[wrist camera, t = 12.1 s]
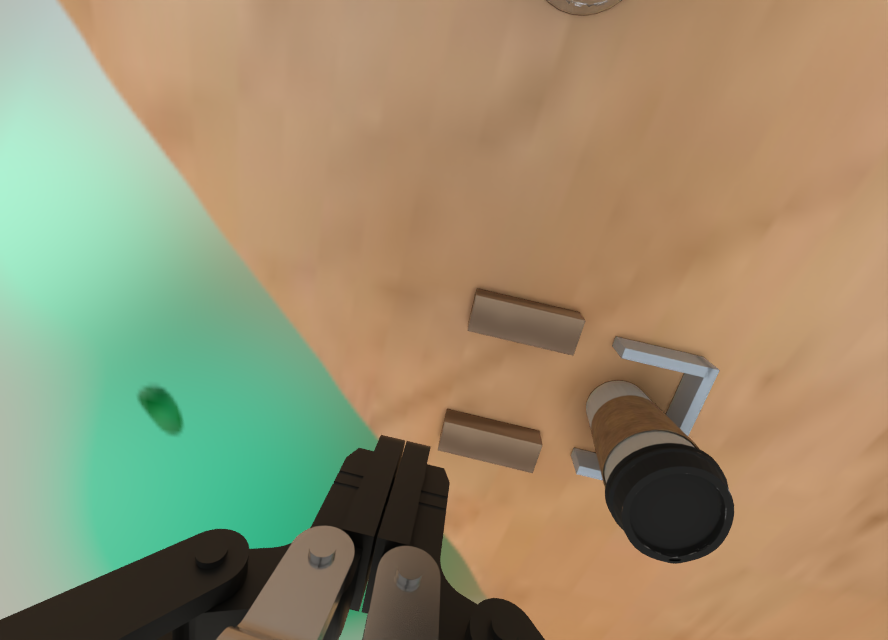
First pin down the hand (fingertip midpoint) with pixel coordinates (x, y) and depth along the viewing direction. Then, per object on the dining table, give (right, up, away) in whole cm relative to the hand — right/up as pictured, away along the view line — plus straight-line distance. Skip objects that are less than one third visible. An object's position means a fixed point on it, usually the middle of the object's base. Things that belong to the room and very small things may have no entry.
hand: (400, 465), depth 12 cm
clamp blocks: (+8, -2, +30) cm, 31 cm away
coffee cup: (+19, -4, +30) cm, 36 cm away
